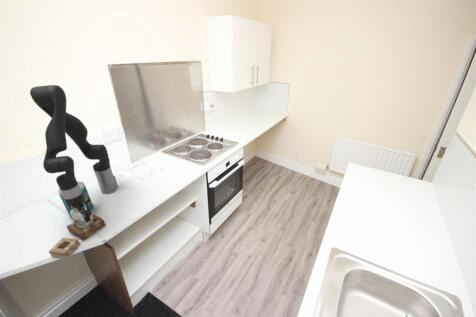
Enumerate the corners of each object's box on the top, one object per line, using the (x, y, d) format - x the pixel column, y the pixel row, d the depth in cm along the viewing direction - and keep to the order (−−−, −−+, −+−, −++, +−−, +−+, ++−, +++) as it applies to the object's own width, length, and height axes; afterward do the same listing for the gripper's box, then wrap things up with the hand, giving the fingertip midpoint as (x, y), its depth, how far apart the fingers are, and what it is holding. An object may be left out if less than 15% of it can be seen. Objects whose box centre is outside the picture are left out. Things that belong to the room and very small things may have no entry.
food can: (66, 213, 125) (54, 188, 117) (88, 203, 134) (79, 178, 125) (75, 223, 119) (62, 197, 111) (98, 211, 128) (88, 186, 119)
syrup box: (96, 225, 118) (88, 204, 111) (89, 233, 113) (80, 212, 106) (86, 224, 118) (77, 204, 111) (78, 233, 113) (68, 212, 106)
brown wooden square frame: (91, 217, 123) (89, 212, 120) (105, 225, 118) (103, 219, 116) (69, 232, 113) (66, 226, 111) (83, 241, 109) (80, 234, 106)
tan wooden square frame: (65, 242, 108) (62, 237, 106) (80, 244, 107) (77, 239, 105) (51, 256, 101) (48, 251, 99) (67, 258, 100) (64, 253, 98)
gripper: (89, 193, 105) (99, 218, 112) (71, 185, 110) (82, 209, 118) (73, 202, 99) (84, 228, 106) (55, 193, 104) (67, 218, 112)
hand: (83, 218), depth 112 cm, fingers open, 8 cm apart
